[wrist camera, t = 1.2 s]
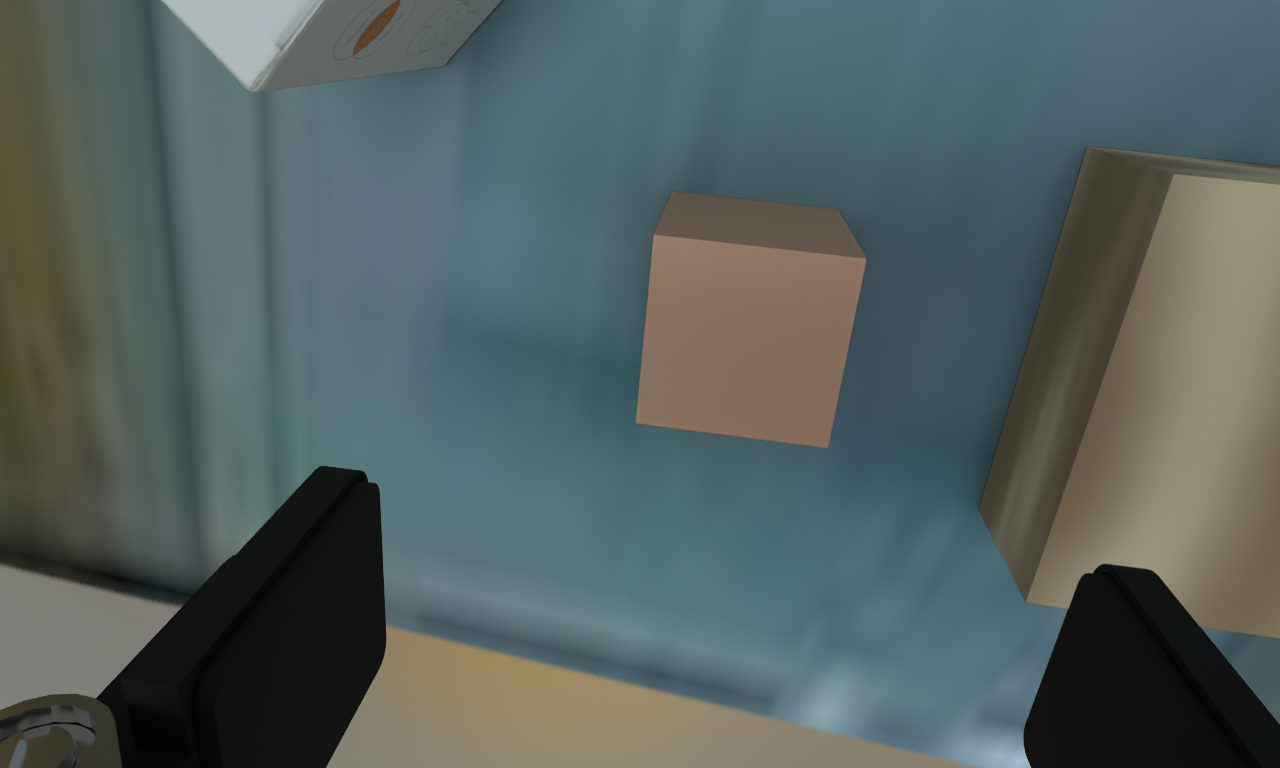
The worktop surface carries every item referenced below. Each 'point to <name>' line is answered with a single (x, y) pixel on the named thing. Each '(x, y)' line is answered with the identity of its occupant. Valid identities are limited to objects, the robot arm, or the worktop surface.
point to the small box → (329, 36)
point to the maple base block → (1152, 393)
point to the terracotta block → (748, 318)
